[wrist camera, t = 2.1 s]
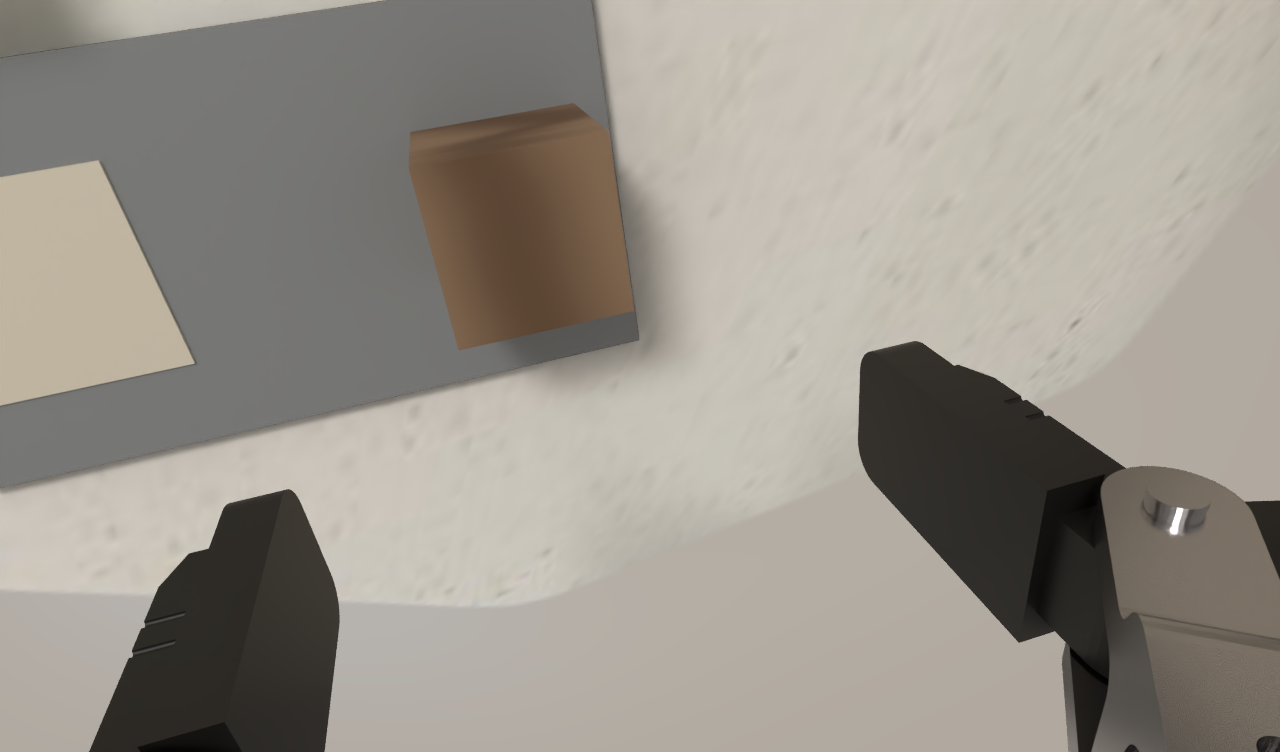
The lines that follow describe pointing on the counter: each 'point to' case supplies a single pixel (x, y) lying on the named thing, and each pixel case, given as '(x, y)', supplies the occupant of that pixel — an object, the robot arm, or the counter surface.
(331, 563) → the counter surface
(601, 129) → the walnut block
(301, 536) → the robot arm
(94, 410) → the build mat
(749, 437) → the counter surface
